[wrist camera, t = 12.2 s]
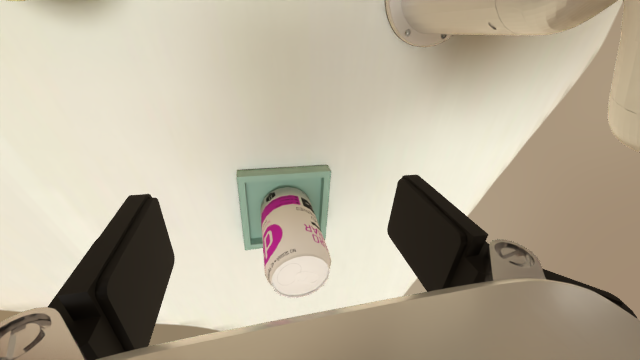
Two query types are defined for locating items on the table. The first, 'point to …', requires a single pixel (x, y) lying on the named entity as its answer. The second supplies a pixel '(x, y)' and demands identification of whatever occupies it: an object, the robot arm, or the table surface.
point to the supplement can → (293, 244)
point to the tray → (264, 181)
